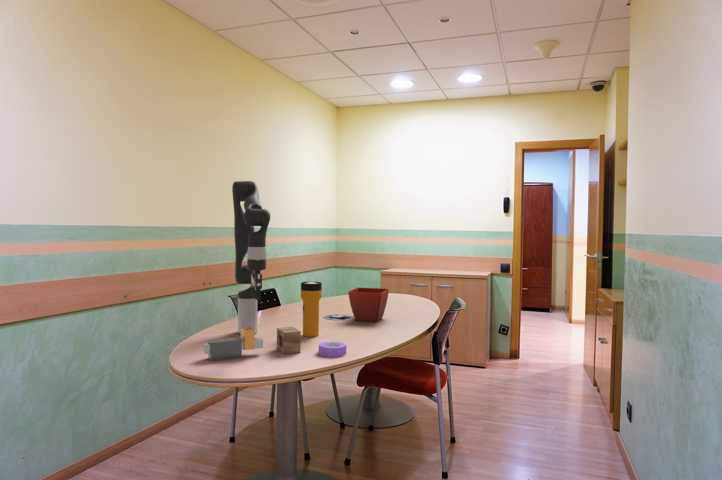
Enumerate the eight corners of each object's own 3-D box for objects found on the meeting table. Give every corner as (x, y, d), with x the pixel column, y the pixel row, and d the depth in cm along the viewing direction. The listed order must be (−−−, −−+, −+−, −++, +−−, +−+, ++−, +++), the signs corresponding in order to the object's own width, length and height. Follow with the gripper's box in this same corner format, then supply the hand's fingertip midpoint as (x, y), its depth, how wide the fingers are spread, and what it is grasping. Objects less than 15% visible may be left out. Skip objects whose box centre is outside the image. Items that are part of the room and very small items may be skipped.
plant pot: (347, 321, 276) (347, 291, 275) (357, 315, 294) (357, 287, 294) (380, 323, 270) (381, 293, 270) (388, 317, 289) (389, 288, 288)
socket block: (276, 348, 213) (276, 328, 213) (292, 347, 217) (292, 326, 216) (284, 354, 204) (284, 332, 204) (300, 352, 208) (300, 331, 207)
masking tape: (346, 350, 214) (346, 341, 214) (346, 357, 202) (346, 347, 202) (319, 349, 214) (319, 341, 214) (317, 357, 202) (317, 347, 202)
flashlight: (324, 282, 236) (303, 283, 233) (323, 336, 237) (303, 338, 234) (318, 280, 246) (298, 281, 242) (317, 332, 246) (298, 333, 243)
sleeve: (208, 357, 198) (208, 340, 197) (238, 354, 203) (238, 337, 203) (210, 361, 193) (211, 342, 193) (241, 357, 199) (241, 339, 198)
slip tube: (202, 351, 197) (202, 330, 197) (259, 345, 208) (259, 325, 208) (205, 354, 192) (206, 333, 191) (264, 348, 202) (264, 328, 202)
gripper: (245, 256, 207) (245, 295, 208) (249, 259, 194) (249, 300, 194) (263, 256, 210) (263, 295, 210) (268, 259, 196) (268, 300, 197)
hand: (256, 297), depth 202 cm, fingers open, 8 cm apart
